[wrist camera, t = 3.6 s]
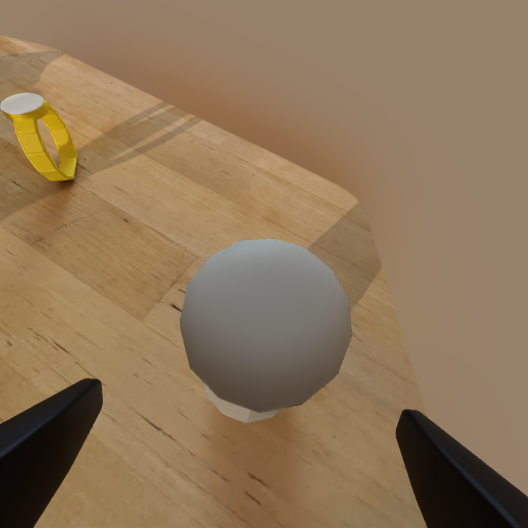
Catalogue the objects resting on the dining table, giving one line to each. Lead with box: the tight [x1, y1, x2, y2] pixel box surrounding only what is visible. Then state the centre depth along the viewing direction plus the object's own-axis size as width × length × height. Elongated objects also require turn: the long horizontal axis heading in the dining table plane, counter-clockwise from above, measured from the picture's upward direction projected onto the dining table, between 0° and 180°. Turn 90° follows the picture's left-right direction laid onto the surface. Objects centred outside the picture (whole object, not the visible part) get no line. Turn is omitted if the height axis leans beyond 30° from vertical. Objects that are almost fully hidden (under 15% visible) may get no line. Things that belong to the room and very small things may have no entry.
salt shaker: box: [180, 238, 352, 423], centre depth 12 cm, size 6×6×13 cm
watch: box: [0, 93, 78, 181], centre depth 21 cm, size 6×3×6 cm, turn 14°
